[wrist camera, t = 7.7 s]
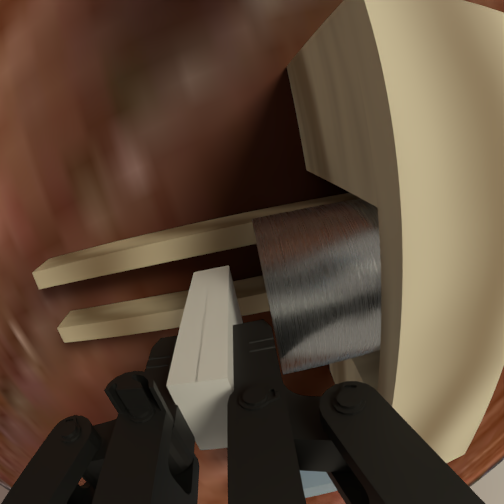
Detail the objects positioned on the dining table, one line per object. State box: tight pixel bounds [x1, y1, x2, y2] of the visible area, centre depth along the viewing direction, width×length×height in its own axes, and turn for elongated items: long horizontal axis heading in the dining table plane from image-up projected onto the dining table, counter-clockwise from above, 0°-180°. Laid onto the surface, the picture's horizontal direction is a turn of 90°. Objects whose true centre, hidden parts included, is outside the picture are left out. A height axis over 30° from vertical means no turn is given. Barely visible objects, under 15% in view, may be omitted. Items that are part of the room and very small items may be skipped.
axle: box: [252, 198, 381, 374], centre depth 12 cm, size 19×6×6 cm, turn 101°
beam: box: [32, 0, 504, 463], centre depth 12 cm, size 33×18×10 cm, turn 101°
